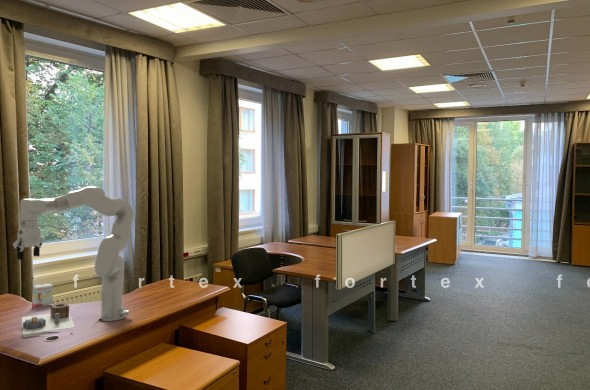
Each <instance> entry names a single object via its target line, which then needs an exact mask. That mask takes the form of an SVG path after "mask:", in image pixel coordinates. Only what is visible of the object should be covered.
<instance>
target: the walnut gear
mask: <svg viewBox="0 0 590 390" xmlns="http://www.w3.org/2000/svg"><path fill="white" fill-rule="evenodd" d="M55 313H60V315H59V319H62V318H66V317H69V314H70V304H68V303H66V302H63V303H62V302H61V303H60V302H59V303H55V304H54V303H53V304H50V314H51V316H50V317H51V318H52V319H55Z"/></svg>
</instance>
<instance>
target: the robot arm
mask: <svg viewBox="0 0 590 390" xmlns="http://www.w3.org/2000/svg"><path fill="white" fill-rule="evenodd" d="M19 203H20V207H19V214H20V216H19V222H18V225H19V227H18V232H17V240H15V241H14V242H12V246H13V248H14V250H15V252H16V260H19V261H20V260H22V261H24V258H25V257H24V256H25V255H24V249H25V248H31V247H33V248H32V249H33V250H32V252H33V253H32V255H33V257H40V255H41V254H40V250H41V248H42V245H43V242H44V238H42V237H41V229H40V226H39V225H38V224H39V215H47V214H54V213H58V212H63V211H67V210H73V209H79V208H83V207H88V208H90V209H92V210H93V211H96V212H97V213H99V214H101V215H103V216H106V217H113V216H115V218H114V221H113V223H112V228H111V232H110V234H109V235H107V236H106V237H104V238H103V239H102V240H101V242H100V243H99V247H98V250H97V254H96V259H95V264H94V272H95V274H96V275H97V277H99V278H101V280H102V281H101V307H100V309H101V310H100V313H101V314H100V316H101V317H100V318H99V319H98V321H101V322H115V321H120V320H122V319H124V318H125V316H130V313H131V312H130V310H128V309H127V310H126V309H125V307H124V306H123V281H124V280H123V279H124V272H125V260H124V258H123V257H122V256H121V255H120V253H122V252H124V251H125V250H126V248H127V246H128V241H129V238H130V233H131V229H132V225H133V221H134V210H133V207H132V205H131V204H130V203H129V202H128V201H127V200H126V199H123V198H120V197H113V198H109V197H108V196H106V193H105V191H104V189H103V188H102V187H100V186H86V187H83V188H82V189H78V190H73V191H69V192H68V193H67V194H64V195H60V196H57V197H51V198H38V199H37V198H23V199H21V200H20V201H19Z"/></svg>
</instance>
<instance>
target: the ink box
mask: <svg viewBox="0 0 590 390" xmlns="http://www.w3.org/2000/svg"><path fill="white" fill-rule="evenodd" d="M53 298H54V285H53V284H51V283H43V284H42V283H41V284H36V285H35V284H34V285H33V286H32V297H31V300H32V302H31V308H32V309H36V308H39V307H45V306H51V305H54V303H53V301H54V299H53Z"/></svg>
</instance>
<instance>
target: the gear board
mask: <svg viewBox="0 0 590 390" xmlns="http://www.w3.org/2000/svg"><path fill="white" fill-rule="evenodd" d="M59 315H60V313H55V319H52V318H51V317H50V316H51V313H45V314H37V315H29V316H21V323H22V324H21V325H22V338H23V339H24V338H32V337H38V336H44V335H52V334H58V333H60V331H58V330H65V329H70V328H75V327H76V326H75V323H74V322H73V319H72V316H71V314H70V313H69V317H66V318H62V319H59Z"/></svg>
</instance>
